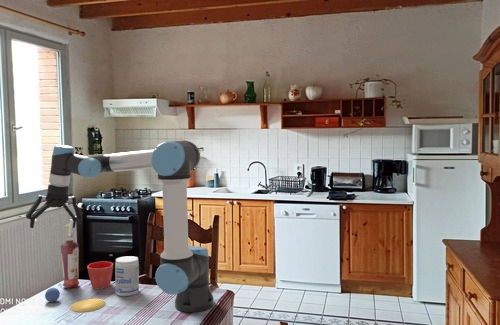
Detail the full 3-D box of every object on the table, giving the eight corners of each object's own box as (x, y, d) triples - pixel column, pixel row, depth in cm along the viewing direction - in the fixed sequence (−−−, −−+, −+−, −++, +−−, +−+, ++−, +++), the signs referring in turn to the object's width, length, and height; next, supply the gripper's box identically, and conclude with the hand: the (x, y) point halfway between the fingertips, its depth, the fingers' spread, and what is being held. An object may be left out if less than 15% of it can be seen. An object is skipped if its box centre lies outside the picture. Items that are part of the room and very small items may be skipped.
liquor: (72, 290, 190) (70, 226, 188) (58, 288, 192) (56, 225, 190) (83, 284, 197) (81, 223, 195) (70, 283, 199) (67, 222, 197)
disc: (107, 308, 170) (107, 307, 170) (71, 314, 165) (71, 314, 164) (103, 297, 182) (103, 296, 182) (69, 302, 176) (69, 302, 176)
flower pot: (106, 291, 189) (105, 268, 188) (83, 289, 191) (82, 267, 191) (118, 282, 199) (117, 261, 199) (96, 281, 202) (95, 260, 201)
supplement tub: (114, 297, 181) (113, 262, 180) (117, 289, 191) (116, 256, 190) (138, 296, 183) (137, 261, 182) (140, 288, 192) (139, 255, 191)
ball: (60, 302, 176) (59, 289, 176) (45, 305, 174) (44, 291, 174) (59, 298, 181) (59, 285, 181) (45, 300, 179) (44, 287, 178)
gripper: (89, 183, 183) (81, 232, 186) (22, 179, 168) (15, 232, 171) (93, 188, 177) (86, 238, 179) (25, 184, 162) (17, 239, 165)
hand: (51, 235), depth 175 cm, fingers open, 13 cm apart
